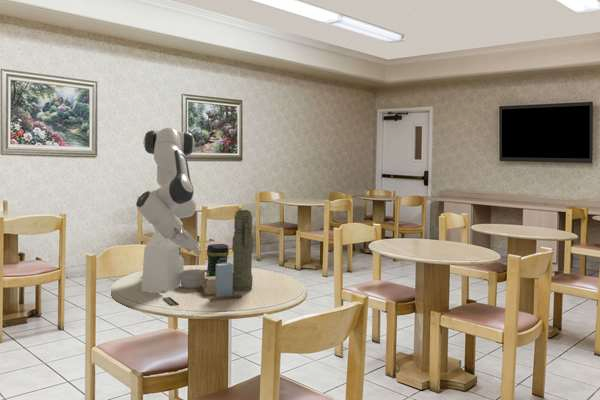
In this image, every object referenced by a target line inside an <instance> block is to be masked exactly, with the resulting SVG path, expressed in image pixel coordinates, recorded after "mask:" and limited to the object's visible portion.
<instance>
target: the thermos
mask: <svg viewBox="0 0 600 400" xmlns="http://www.w3.org/2000/svg"><path fill="white" fill-rule="evenodd" d="M233 223H234V225H233V226H234V228H233V229H234V232H233V237H232V253H233V255H232V256H233V259H232V260H233V262H232V264H233V290H232V291H237V292H238V291H239V292H248V291H251V290H252V288H253V274H252V263H253V262H252V260H253V258H252V257H253V251H254V237H253V230H252V229H253V216H252V213H251V211H250V210H246V209H238V210H237V211H235V215H234V222H233Z"/></svg>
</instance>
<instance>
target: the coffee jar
mask: <svg viewBox="0 0 600 400" xmlns="http://www.w3.org/2000/svg"><path fill="white" fill-rule="evenodd" d="M206 249H207V250H206V254H207V255H206V256H207V269H206V270H208V271H209V277H213V276H216V264H224V263H228V256H229V252H230V251H229V245H228V244H227V243H226V244H225V243H212V244H208V245H207V248H206Z"/></svg>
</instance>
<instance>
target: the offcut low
mask: <svg viewBox="0 0 600 400" xmlns="http://www.w3.org/2000/svg"><path fill="white" fill-rule="evenodd" d="M202 288H203V292H204V293H206V294H214V293H215V286H212V287H208V286H206V285H204V284H203V287H202Z"/></svg>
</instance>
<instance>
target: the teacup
mask: <svg viewBox="0 0 600 400" xmlns="http://www.w3.org/2000/svg"><path fill="white" fill-rule="evenodd" d="M204 277H209V271H208V270H207V269H185V270H184V271H181V272H180V286H181V287H182V288H183V289H188V290H189V289H193V290H194V289H198V288H203V284H204Z"/></svg>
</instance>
